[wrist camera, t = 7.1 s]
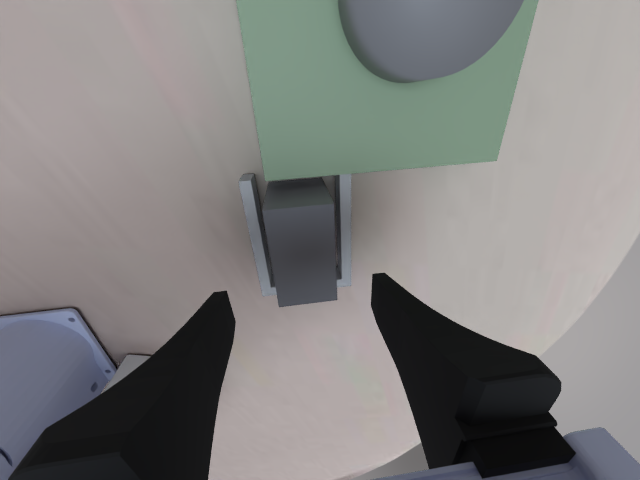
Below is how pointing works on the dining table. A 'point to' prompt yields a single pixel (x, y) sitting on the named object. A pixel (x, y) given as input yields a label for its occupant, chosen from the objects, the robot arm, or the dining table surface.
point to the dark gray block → (301, 240)
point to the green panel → (375, 92)
